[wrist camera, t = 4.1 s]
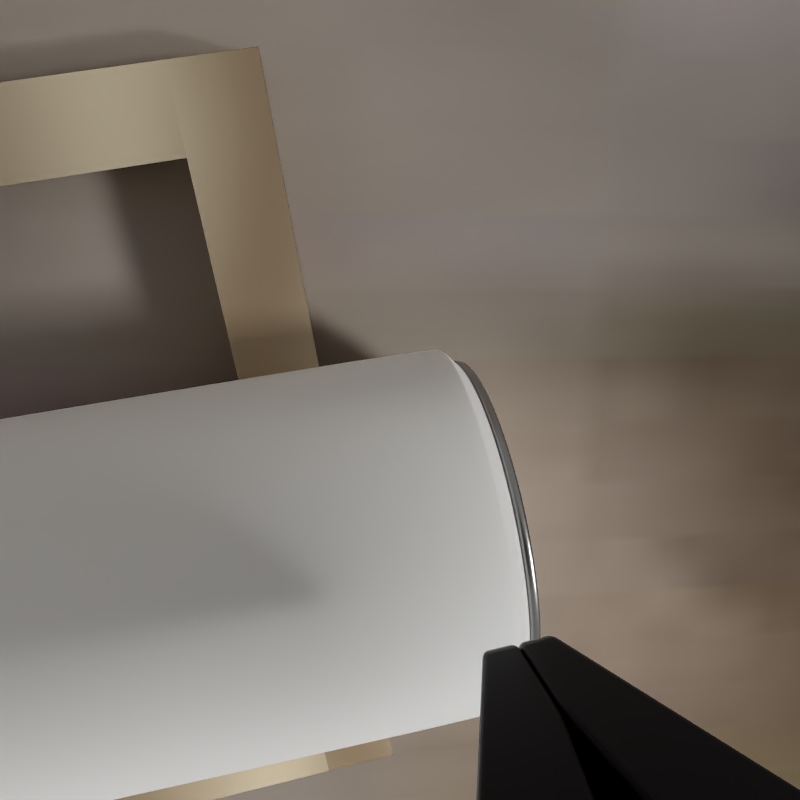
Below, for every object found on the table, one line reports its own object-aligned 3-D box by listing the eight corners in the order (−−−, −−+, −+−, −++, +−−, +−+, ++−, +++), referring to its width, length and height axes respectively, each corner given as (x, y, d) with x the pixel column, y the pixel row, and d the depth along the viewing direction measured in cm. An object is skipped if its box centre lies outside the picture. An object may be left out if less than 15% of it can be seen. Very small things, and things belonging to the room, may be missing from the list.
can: (434, 295, 15) (-206, 394, 14) (548, 460, 9) (-530, 661, 8) (454, 547, 18) (-68, 651, 17) (549, 790, 12) (-233, 977, 11)
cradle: (259, 56, 13) (258, 46, 12) (383, 708, 19) (393, 754, 17) (-314, 136, 12) (-388, 136, 11) (-12, 804, 18) (-35, 861, 16)
